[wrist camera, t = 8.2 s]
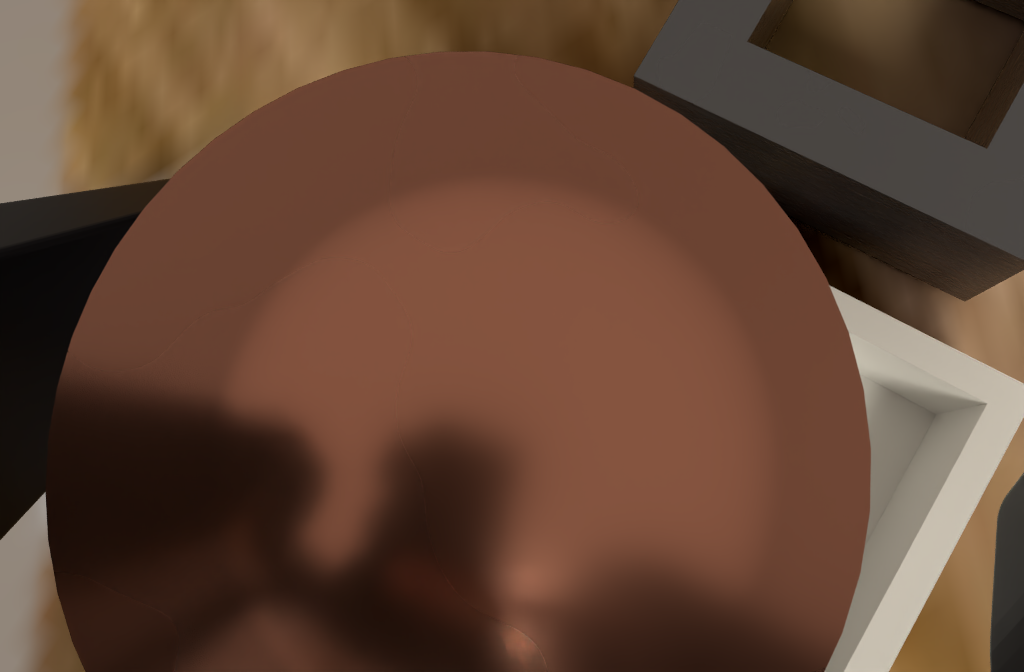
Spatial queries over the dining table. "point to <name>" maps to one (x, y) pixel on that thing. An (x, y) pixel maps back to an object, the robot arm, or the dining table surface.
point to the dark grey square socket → (852, 146)
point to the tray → (916, 471)
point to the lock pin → (459, 396)
